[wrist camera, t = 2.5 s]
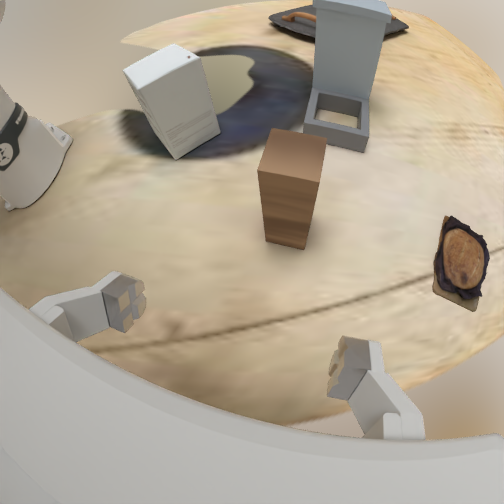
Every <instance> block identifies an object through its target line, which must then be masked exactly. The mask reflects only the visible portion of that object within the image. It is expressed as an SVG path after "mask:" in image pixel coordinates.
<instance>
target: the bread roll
mask: <svg viewBox="0 0 504 504" xmlns="http://www.w3.org/2000/svg"><path fill="white" fill-rule="evenodd" d="M486 246H487V244H486V242H485V240H484V239H483V235H478V234H477V233H475V232H474V231H472V230H471V229H470V226H468V225H465V224H463V223H461V222H460V221H459V220H457V219H456V218H454V217H453V216H450V217H448V216H445V217H444V220H443V224H442V229H441V233H440V237H439V245H438V252H437V253H436V256H435V258H436V259H435V261H434V265H435V271H434V282H433V286H432V287H433V292H434V293H435V294H436V295H439V296H442V297H444V298H446V299H448V300H450V301H452V302H454V303H456V304H458V305H460V306H462V307H464V308H466V309H468V310H470V311H472V312H474V311H476V309H477V305H478V301H479V296H480V297H481V296H482V293H481V291H480V289H481V284H482V282H483V281H484V279H485V276H486V269H487V266H488V262H489V259H490V257H489V252H488V249H487V247H486Z"/></svg>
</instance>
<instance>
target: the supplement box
mask: <svg viewBox="0 0 504 504" xmlns="http://www.w3.org/2000/svg"><path fill="white" fill-rule="evenodd" d="M123 72H124V74H125V76H126V78H127V80H128V82H129V84H130V86H131V88H132V90H133V92H134V94H135V96H136V97H137V99H138V101H139V103H140V105H141V107H142V109H143V111H144V113H145V115H146V117H147V119H148V121H149V123H150V125H151V127H152V129H153V130H154V132H155V134H156V135H157V136H158V138H159V139H160V140H161V142H162V143H163V144H164V146H165V147H166V148H167V150H168V151H169V152H170V154H171V155H172V156H173V158H174V159H175V160H177V159H179V158H180V157H182V156H183V155H185V154H186V153H188V152H190V151H191V150H193V149H194V148H196V147H198V146H199V145H201V144H203V143H204V142H206V141H208V140H209V139H211V138H213V137H215V136H216V135H218V134H220V133H221V132H220V128H219V125H218V121H217V117H216V114H215V110H214V107H213V103H212V99H211V95H210V92H209V88H208V84H207V81H206V77H205V73H204V70H203V66H202V62H201V58H200V57H198V56H196V55H195V54H193V53H191V52H189V51H188V50H186V49H184V48H182V47H180V46H178V45H176V44H171V45H169V46H167V47H165V48H163V49H161V50H159V51H157V52H155V53H153V54H151V55H149V56H147V57H145V58H143V59H141V60H140V61H138V62H136V63H134V64H132V65H131V66H129V67H127V68H125V69H123Z"/></svg>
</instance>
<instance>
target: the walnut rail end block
mask: <svg viewBox="0 0 504 504" xmlns="http://www.w3.org/2000/svg"><path fill="white" fill-rule="evenodd" d="M326 142H327V138H324V137H319V136H314V135H309V134H304V133H298V132H293V131H287V130H281V129H274V128H272V129H271V132H270V135H269V138H268V140H267V143H266V146H265V149H264V152H263V155H262V158H261V161H260V164H259V167H258V170H257V172H258V180H259V188H260V196H261V204H262V213H263V221H264V230H265V238H266V241H267V242H271V243H276V244H280V245H284V246H289V247H293V248H297V249H302V250H304V249H305V244H306V240H307V236H308V232H309V228H310V223H311V219H312V215H313V210H314V206H315V201H316V197H317V192H318V187H319V183H320V177H321V172H322V166H323V160H324V154H325V148H326Z"/></svg>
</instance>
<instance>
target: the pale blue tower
mask: <svg viewBox="0 0 504 504" xmlns="http://www.w3.org/2000/svg"><path fill="white" fill-rule="evenodd" d="M313 7H315V8H317V11H316V37H315V56H314V72H313V86H312V91H311V95H310V100H309V104H308V108H307V112H306V116H305V120H304V128H303V133H304V134H309V135H314V136H319V137H324V138H327V142H326V144H329V145H334V146H338V147H342V148H347V149H351V150H355V151H359V152H362V153H364V150H365V147H366V144H367V141H368V138H369V96H370V92H371V89H372V85H373V81H374V77H375V73H376V69H377V64H378V60H379V56H380V51H381V47H382V42H383V38H384V33H385V28H386V23H390V24H391V19H392V14H391V12H390V10H389V8H388V6H387V5H386V3H385V2H382V1H379V0H313ZM317 108H319V109H324V110H329V111H334V112H338V113H343V114H347V115H351V116H356V117H358V125H357V129H356V128H352V127H348V126H344V125H340V124H335V123H330V122H326V121H321V120H316V119H315V116H316V111H317Z"/></svg>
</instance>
